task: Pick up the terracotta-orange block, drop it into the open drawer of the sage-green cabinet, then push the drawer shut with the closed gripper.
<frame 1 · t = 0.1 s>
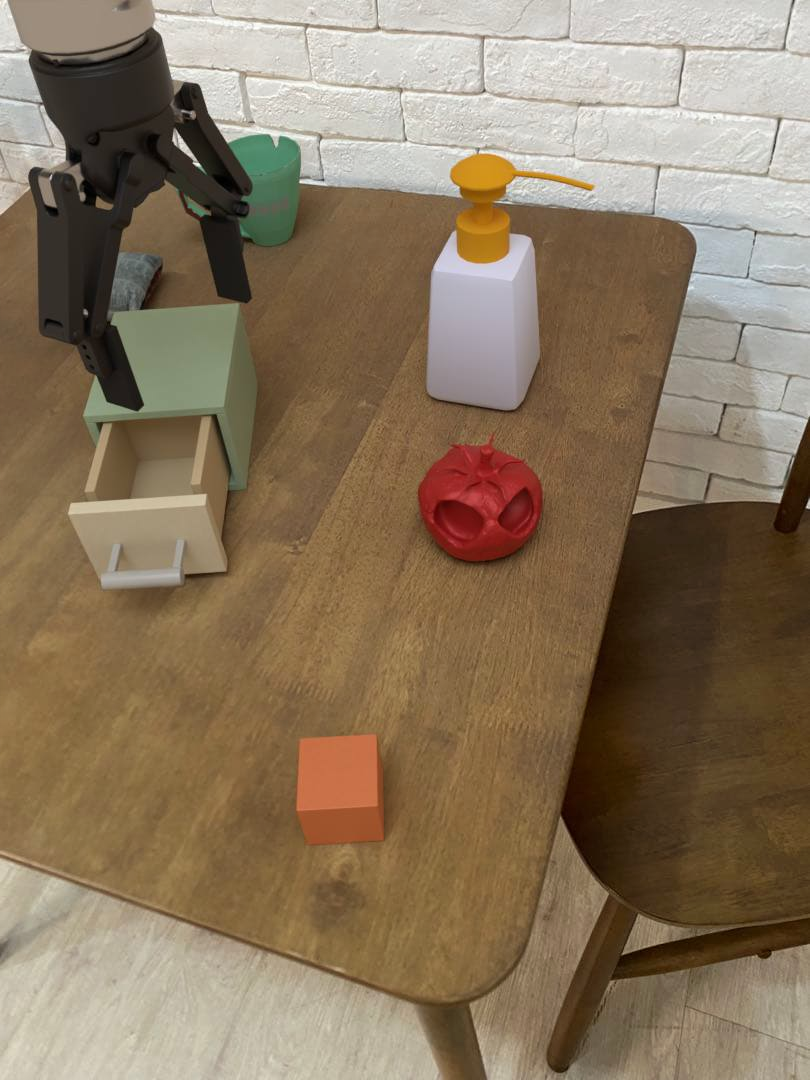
hand: (183, 348, 68), 17 cm above the table, tool pointing down, fingers open, 13 cm apart
cabinet: (191, 438, 88), on the table
block: (346, 807, 62), on the table
packaged food: (118, 307, 104), on the table
red carved tomato: (480, 531, 78), on the table
drawer: (158, 501, 76), point 5 cm above the table, slide at 9.0 cm
mug: (252, 240, 111), on the table
soap bottle: (505, 384, 91), on the table
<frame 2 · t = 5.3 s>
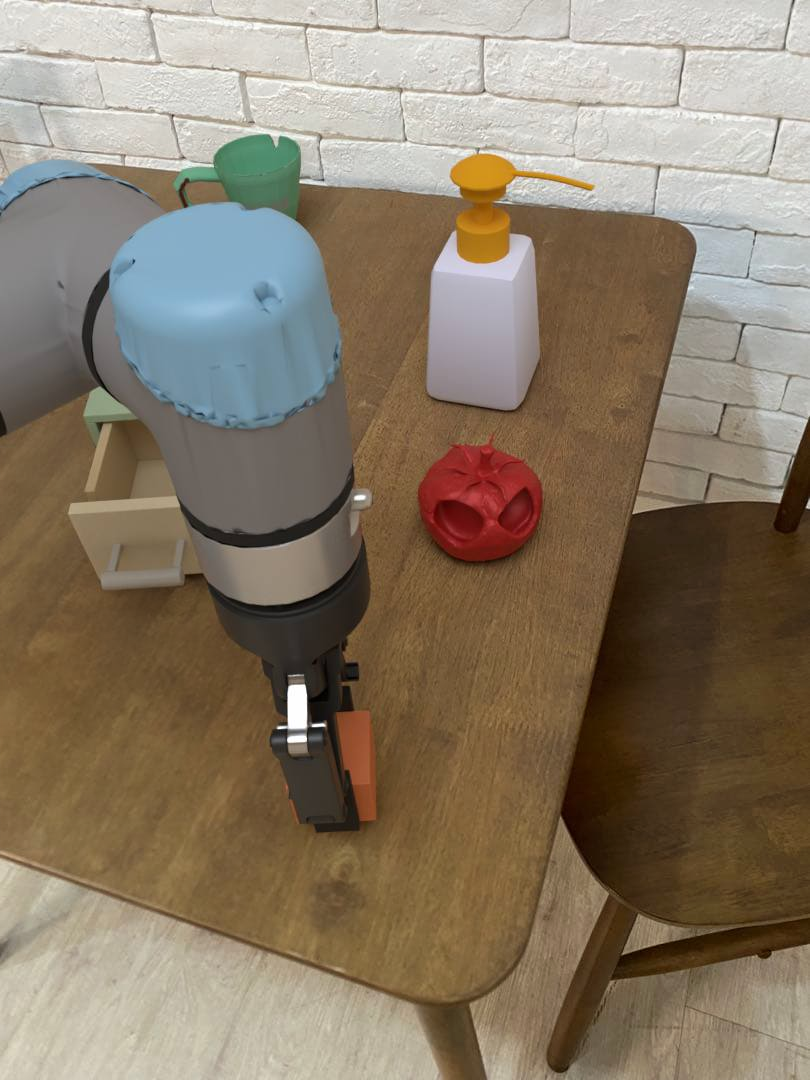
hand: (338, 783, 60), 3 cm above the table, tool pointing down, fingers closed on block, 5 cm apart
block: (337, 786, 61), point 3 cm above the table, touching gripper
everything else where it was.
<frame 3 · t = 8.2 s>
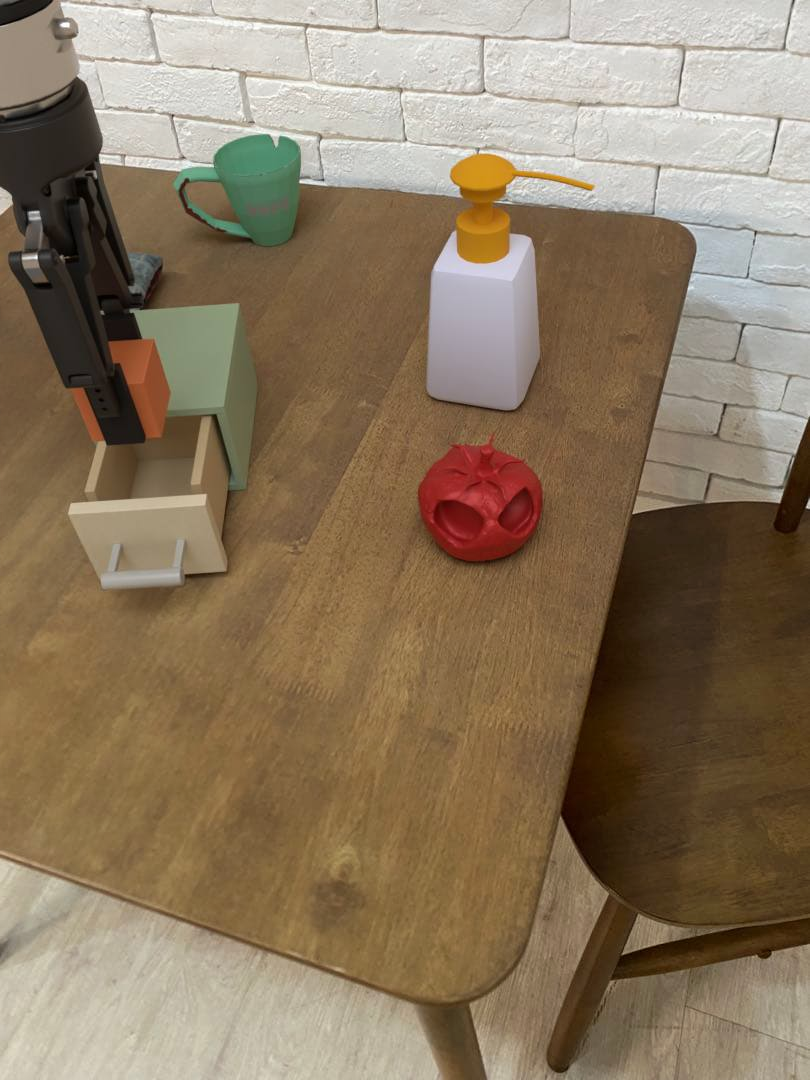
hand: (132, 414, 69), 14 cm above the table, tool pointing down, fingers closed on block, 5 cm apart
block: (132, 416, 69), point 14 cm above the table, touching gripper
everything else where it was.
when the fingers open (6 cm above the table, at t = 10.9 s): block drops 3 cm, resting on drawer.
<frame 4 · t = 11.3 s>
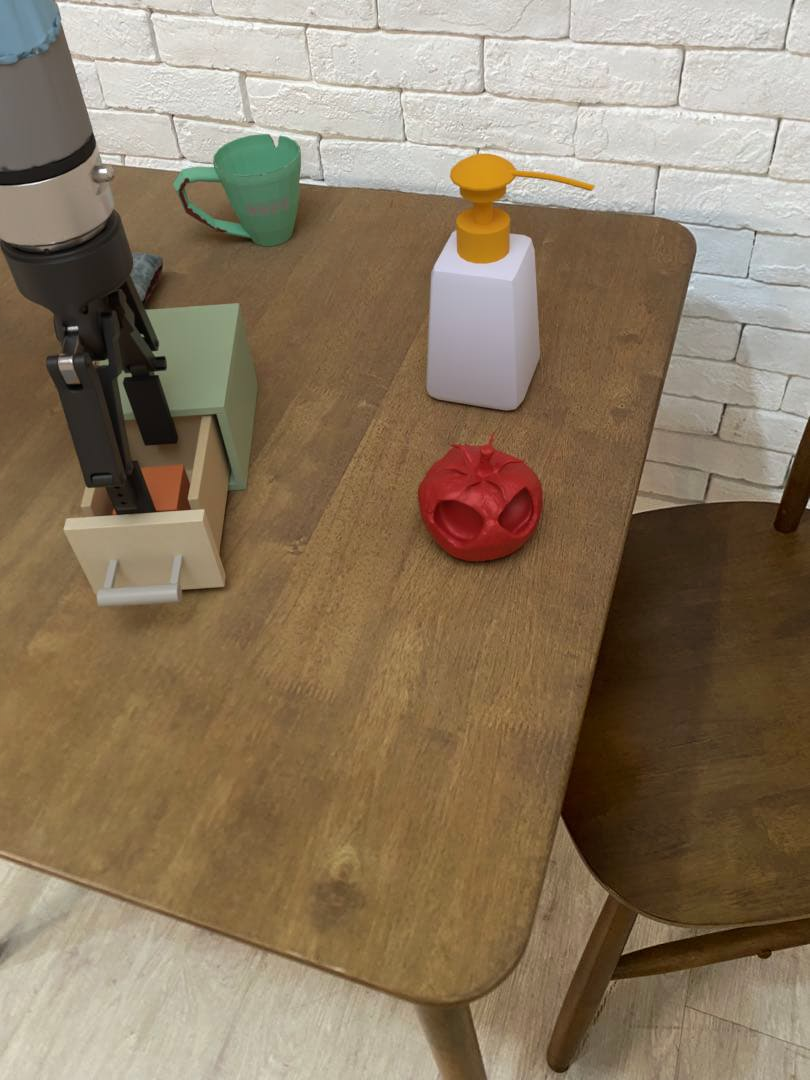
hand: (152, 482, 75), 7 cm above the table, tool pointing down, fingers open, 9 cm apart
block: (164, 531, 78), point 2 cm above the table, touching drawer
drawer: (155, 515, 75), point 5 cm above the table, slide at 10.6 cm, touching block, gripper
everything else where it was.
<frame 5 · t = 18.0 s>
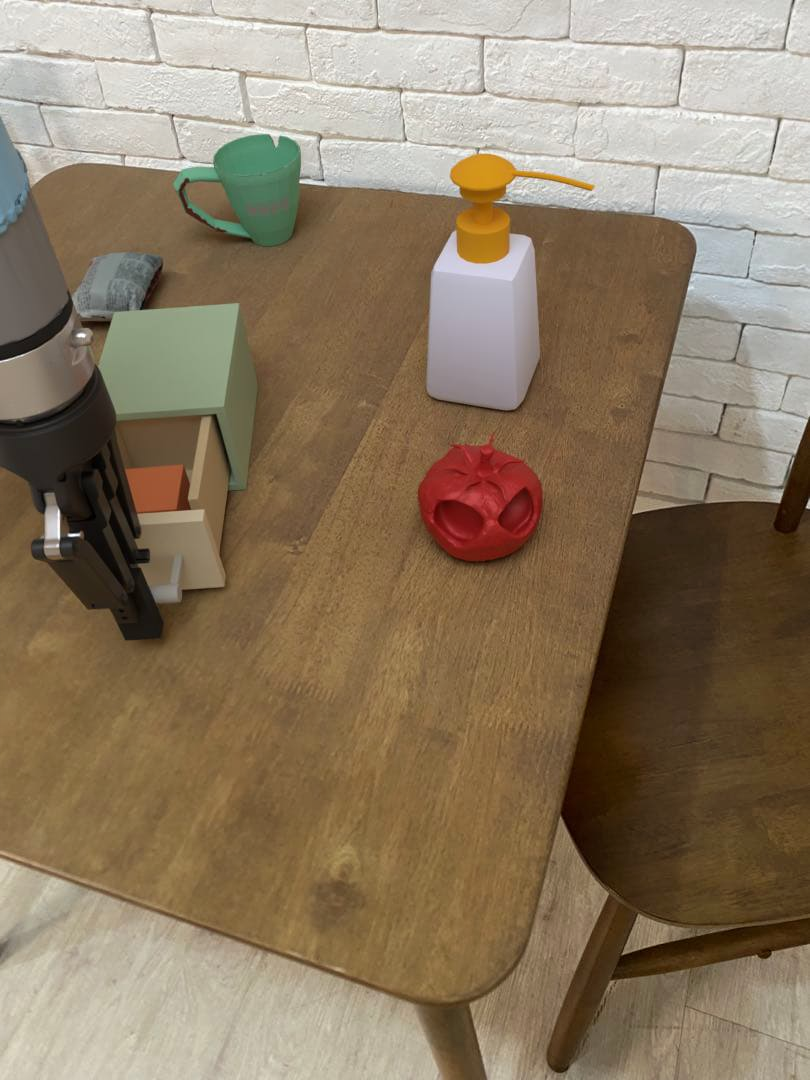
hand: (144, 631, 70), 2 cm above the table, tool pointing down, fingers closed
nothing on the table moved.
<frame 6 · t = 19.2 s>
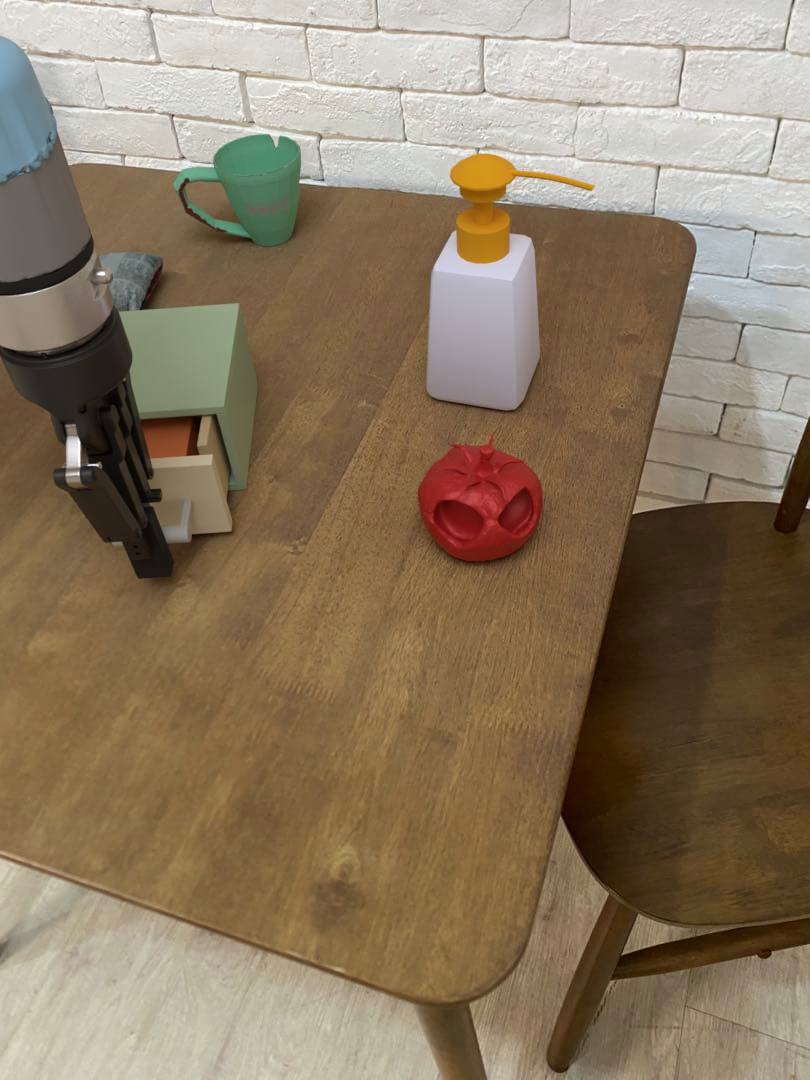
hand: (156, 570, 74), 2 cm above the table, tool pointing down, fingers closed
block: (174, 480, 81), point 2 cm above the table, touching drawer
drawer: (166, 464, 79), point 5 cm above the table, slide at 4.6 cm, touching block, gripper
everything else where it was.
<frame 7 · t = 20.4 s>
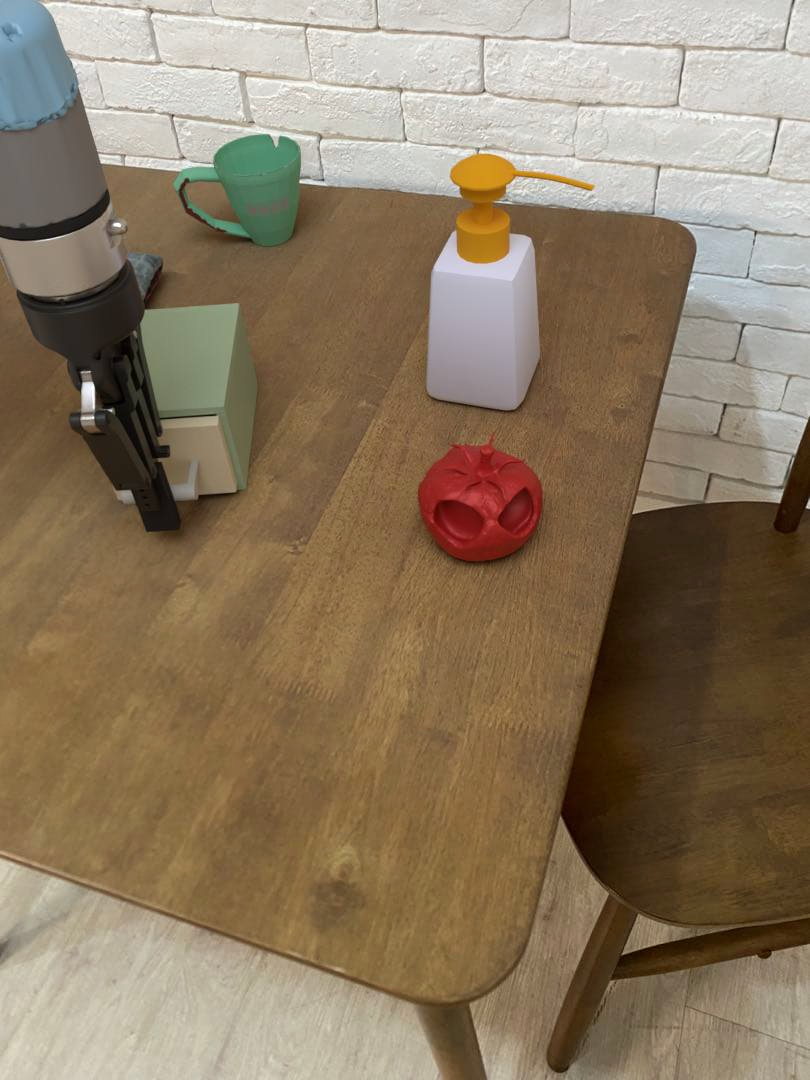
hand: (164, 525, 77), 2 cm above the table, tool pointing down, fingers closed
block: (181, 444, 85), point 2 cm above the table, touching drawer
drawer: (173, 427, 82), point 5 cm above the table, slide at 0.0 cm, touching block, cabinet, gripper
everything else where it was.
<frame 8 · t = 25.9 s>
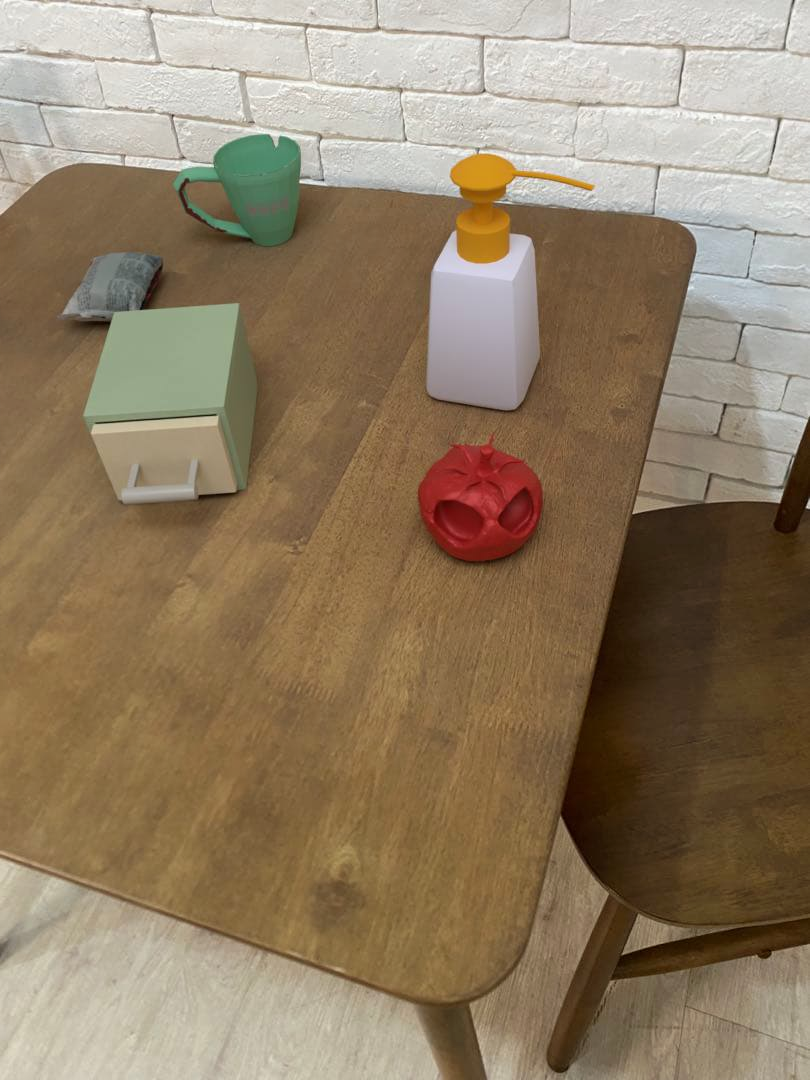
drawer: (173, 427, 82), point 5 cm above the table, slide at 0.0 cm, touching block, cabinet
everything else where it was.
at the end: block inside the target area in the cabinet (2.9 cm from its centre), point 2.0 cm above the cabinet's base; drawer slide at 0.0 cm; the gripper is holding nothing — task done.
